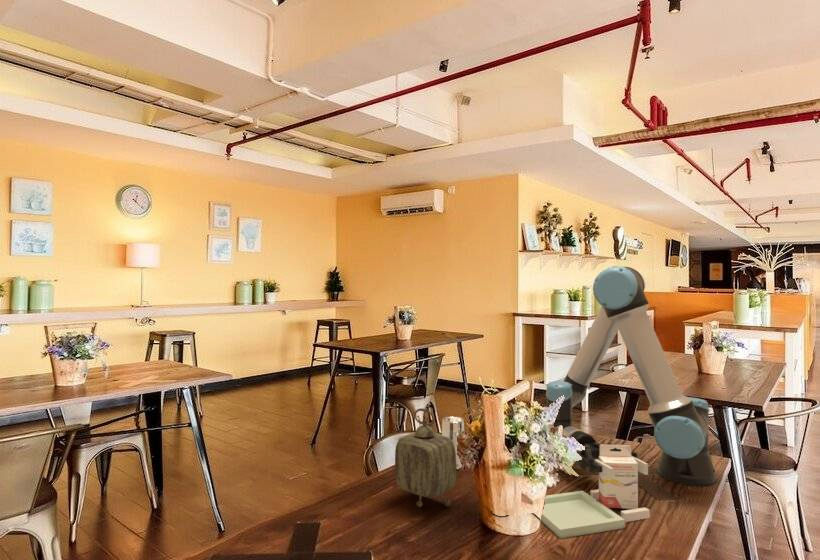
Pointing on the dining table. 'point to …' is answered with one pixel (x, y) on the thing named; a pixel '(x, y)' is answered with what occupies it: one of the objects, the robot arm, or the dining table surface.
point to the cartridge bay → (627, 514)
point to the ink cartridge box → (619, 478)
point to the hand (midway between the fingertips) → (629, 471)
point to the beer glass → (453, 432)
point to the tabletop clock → (425, 462)
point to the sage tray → (578, 515)
